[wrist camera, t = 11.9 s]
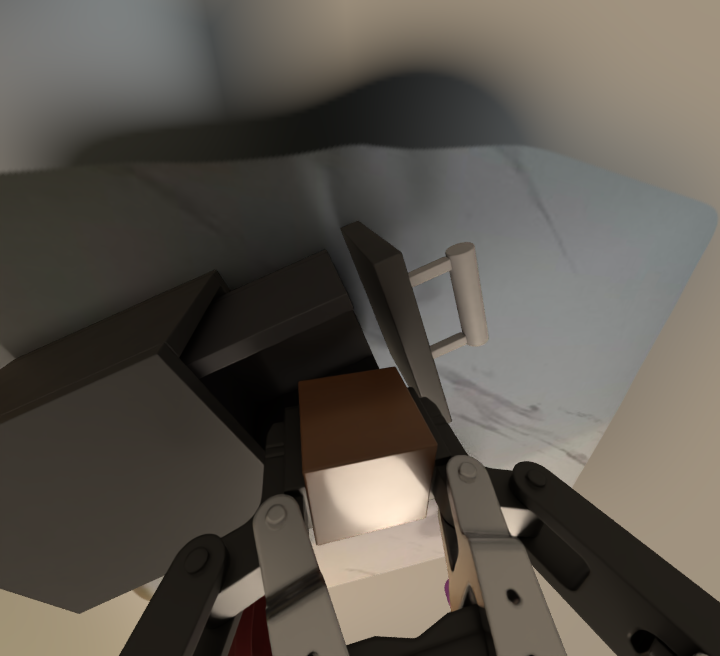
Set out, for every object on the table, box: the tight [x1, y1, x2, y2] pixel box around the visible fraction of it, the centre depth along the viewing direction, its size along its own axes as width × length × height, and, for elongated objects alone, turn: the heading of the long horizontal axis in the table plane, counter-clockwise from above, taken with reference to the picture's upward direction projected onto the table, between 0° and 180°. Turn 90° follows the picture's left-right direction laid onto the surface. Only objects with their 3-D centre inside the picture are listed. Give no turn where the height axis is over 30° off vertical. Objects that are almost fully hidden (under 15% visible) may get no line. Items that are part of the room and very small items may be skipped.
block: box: [298, 367, 438, 545], centre depth 11 cm, size 4×4×4 cm
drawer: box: [179, 221, 489, 451], centre depth 17 cm, size 17×10×8 cm, turn 111°
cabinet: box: [0, 270, 265, 614], centre depth 17 cm, size 14×12×10 cm
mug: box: [228, 595, 273, 656], centre depth 29 cm, size 12×9×11 cm
